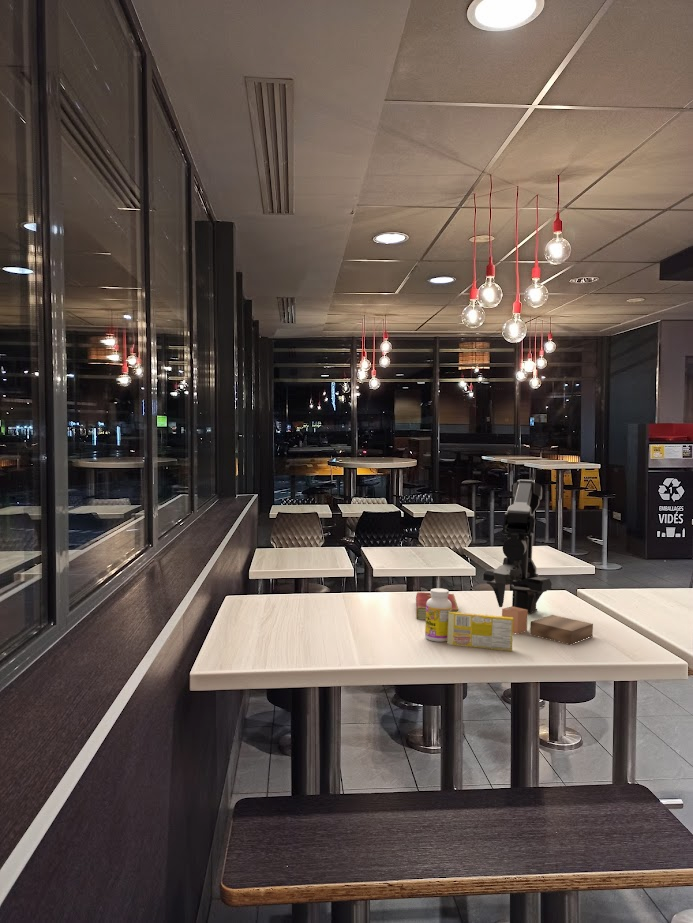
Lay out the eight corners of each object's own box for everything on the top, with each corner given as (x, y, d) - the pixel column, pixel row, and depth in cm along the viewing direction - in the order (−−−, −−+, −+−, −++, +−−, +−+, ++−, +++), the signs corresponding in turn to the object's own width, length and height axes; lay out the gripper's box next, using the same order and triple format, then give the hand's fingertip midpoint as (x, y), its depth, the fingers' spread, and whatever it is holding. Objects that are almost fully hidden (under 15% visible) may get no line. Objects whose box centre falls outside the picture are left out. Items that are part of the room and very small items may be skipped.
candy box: (512, 649, 171) (513, 617, 171) (512, 652, 169) (513, 619, 168) (447, 642, 175) (449, 610, 175) (446, 644, 173) (448, 612, 173)
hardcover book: (416, 620, 197) (416, 606, 197) (415, 604, 218) (416, 591, 218) (457, 623, 196) (458, 608, 196) (453, 606, 217) (453, 593, 217)
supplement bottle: (420, 636, 180) (422, 587, 179) (442, 634, 182) (444, 586, 182) (432, 643, 173) (434, 593, 173) (455, 641, 176) (457, 592, 175)
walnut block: (530, 636, 185) (530, 621, 185) (552, 628, 193) (552, 614, 193) (570, 646, 177) (571, 631, 176) (592, 638, 185) (593, 623, 185)
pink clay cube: (501, 630, 189) (502, 608, 189) (511, 627, 192) (512, 606, 192) (517, 634, 185) (518, 612, 185) (526, 631, 189) (527, 609, 188)
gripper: (472, 552, 189) (470, 607, 190) (532, 562, 176) (529, 622, 176) (494, 549, 197) (492, 602, 197) (553, 558, 184) (551, 615, 184)
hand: (514, 610), depth 189 cm, fingers open, 9 cm apart
